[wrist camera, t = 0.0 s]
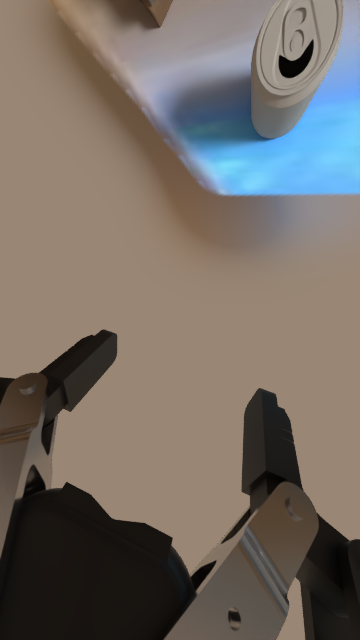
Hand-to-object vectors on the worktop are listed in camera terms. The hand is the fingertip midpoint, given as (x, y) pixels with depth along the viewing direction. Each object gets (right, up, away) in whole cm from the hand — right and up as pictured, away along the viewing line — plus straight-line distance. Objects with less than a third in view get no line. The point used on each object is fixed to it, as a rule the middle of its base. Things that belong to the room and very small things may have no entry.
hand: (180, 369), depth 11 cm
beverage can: (+12, +29, +14) cm, 35 cm away
